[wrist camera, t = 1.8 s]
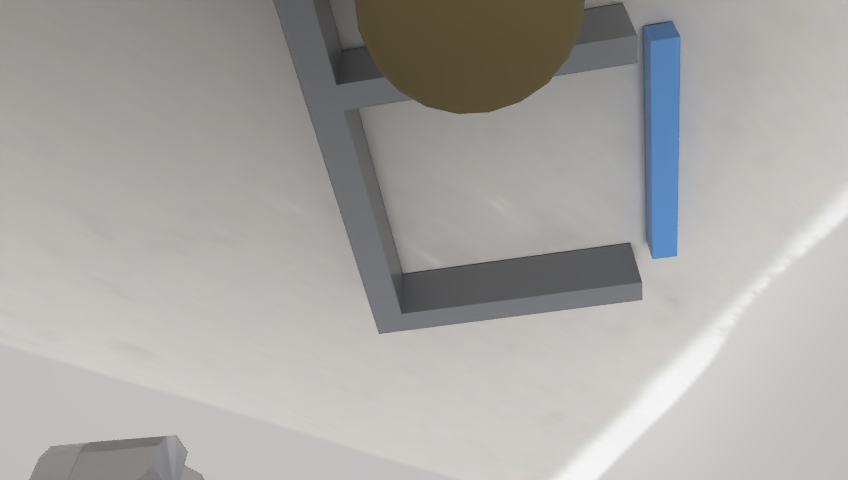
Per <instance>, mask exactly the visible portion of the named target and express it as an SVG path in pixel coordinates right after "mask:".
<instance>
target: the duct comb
mask: <svg viewBox="0 0 848 480" xmlns="http://www.w3.org/2000/svg"><path fill="white" fill-rule="evenodd" d="M274 3H275V7H276V10H277V13H278V16H279V19H280V22H281V26H282V29H283V32H284V35H285V38H286V41H287V45H288V48H289V51H290V54H291V57H292V60H293V64H294V67H295V70H296V73H297V76H298V79H299V82H300V86H301V89H302V92H303V95H304V98H305V101H306V105H307V108H308V111H309V114H310V117H311V120H312V124H313V127H314V130H315V133H316V136H317V139H318V143H319V146H320V149H321V152H322V155H323V158H324V162H325V165H326V168H327V171H328V174H329V177H330V181H331V184H332V187H333V190H334V193H335V196H336V200H337V203H338V206H339V209H340V212H341V215H342V219H343V222H344V225H345V228H346V231H347V234H348V238H349V241H350V244H351V247H352V250H353V253H354V257H355V260H356V263H357V266H358V269H359V272H360V276H361V279H362V282H363V285H364V288H365V291H366V294H367V298H368V301H369V304H370V307H371V310H372V313H373V317H374V320H375V323H376V326H377V329H378V332H379V334H382V333H389V332H397V331H405V330H413V329H420V328H428V327H436V326H444V325H451V324H459V323H467V322H475V321H482V320H490V319H498V318H506V317H513V316H521V315H529V314H537V313H544V312H552V311H560V310H568V309H575V308H583V307H591V306H598V305H606V304H614V303H622V302H629V301H637V300H642V281H641V277H640V274H639V271H638V267H637V264H636V261H635V258H634V254H633V251H632V248H631V244H630V243H628V244H620V245H613V246H606V247H598V248H591V249H584V250H577V251H569V252H562V253H555V254H547V255H540V256H533V257H526V258H518V259H511V260H504V261H497V262H489V263H482V264H475V265H467V266H460V267H453V268H446V269H438V270H431V271H424V272H417V273H409V274H403V273H402V269H401V266H400V262H399V258H398V255H397V251H396V247H395V244H394V240H393V236H392V232H391V229H390V225H389V221H388V218H387V214H386V210H385V207H384V203H383V199H382V196H381V192H380V188H379V185H378V181H377V177H376V173H375V170H374V166H373V162H372V159H371V155H370V151H369V148H368V144H367V140H366V137H365V133H364V129H363V126H362V122H361V118H360V115H359V111H358V108H363V107H369V106H375V105H381V104H387V103H393V102H399V101H406V100H412V98H410V97H408V96H407V95H405V94H403V93H401V92H399V91H398V90H397V89H396V88H395V87H394V86H393V85H392V84H391V83H390V82H389V80H388V79H387V78H386V77H385V76H384V75H383V74H382V73H381V72H380V71H379V70H378V69H377V68H376V66H375V63H374V61H373V59H372V57H371V55H370V53H369V51H368V49H367V47H364V48H359V49H353V50H347V51H342V48H341V44H340V41H339V37H338V33H337V30H336V26H335V22H334V19H333V15H332V11H331V8H330V4H329V0H274ZM643 36H644V101H645V167H646V232H647V244H648V247H649V250H650V253H651V256H652V259H657V258H665V257H672V256H677V222H678V158H679V95H680V35H679V33H678V31H677V29H676V28H675V26H674V24H673V22H666V23H660V24H654V25H648V26H643ZM633 63H637V34H636V32H635V30H634V28H633V25H632V23H631V21H630V19H629V17H628V14H627V12H626V10H625V8H624V5H623V3H621V4H615V5H609V6H603V7H597V8H591V9H586V10H584V16H583V21H582V26H581V29H580V31H579V34H578V36H577V39H576V41H575V43H574V46H573V48H572V51H571V53H570V56H569V58H568V59H567V60H566V61H565V63H564V64H563V65H562V66H561V68H560V69H559V70H558V71H557V72H556V74H555V75H554V76H559V75H565V74H571V73H577V72H584V71H590V70H596V69H602V68H608V67H614V66H620V65H627V64H633Z"/></svg>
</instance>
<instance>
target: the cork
mask: <svg viewBox="0 0 848 480" xmlns="http://www.w3.org/2000/svg"><path fill="white" fill-rule="evenodd" d="M584 1H585V0H355V3H356V11H357V19H358V27H359V31H360V34H361V36H362V38H363V40H364V42H365V45H366V47H367V49H368V51H369V53H370V55H371V57H372V59H373V61H374V63H375V66H376V68H377V69H378V70H379V71H380V72H381V73H382V74H383V75H384V76H385V77H386V78H387V79H388V80H389V82H390V83H391V84H392V85H393V86H394V87H395V88H396V89H397V90H398V91H399V92H401V93H403V94H405V95H407V96H408V97H410V98H412V99H414V100H416V101H417V102H419V103H421V104H423V105H424V106H426V107H431V108H435V109H439V110H444V111H448V112H453V113H457V114H462V113H481V112H491V111H494V110H497V109H500V108H503V107H506V106H509V105H512V104H515V103H518V102H521V101H522V100H524V99H525V98H527V97H528V96H529V95H531V94H532V93H534V92H535V91H537V90H538V89H540V88H541V87H543V86H544V85H546V84H547V83H548V82H549V81H550V80H551V79H552V77H553V76H554V75H555V74H556V72H557V71H558V70H559V69H560V68H561V66H562V65H563V64H564V63H565V61H566V60H567V59H568V58H569V56H570V53H571V51H572V48H573V46H574V43H575V41H576V39H577V36H578V34H579V31H580V29H581V26H582V21H583V16H584Z"/></svg>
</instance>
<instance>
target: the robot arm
mask: <svg viewBox="0 0 848 480" xmlns="http://www.w3.org/2000/svg"><path fill="white" fill-rule="evenodd" d="M187 453H188V452H187V450H186V448H185V447H184V446H183V444H182V443H181V441H180V440H179V438H178V437H177V436H176V435H175V436H161V437H149V438H137V439H124V440H112V441H101V442H90V443H79V444H69V445H59V446H51V447H50V448H49V449H48V450H47V451H46V452H45V453H44V454H43V455H42V456H41V457H40V458H39V460H38V462H37V464H36V466H35V468H34V471H33V473H32V475H31V477H30V479H29V480H204V478H203V476H202V474H200V473H198V472H196V471H195V470H193V469H191V468H188V467H187V466H185V465H184V464H185V460H186V457H187Z"/></svg>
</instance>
